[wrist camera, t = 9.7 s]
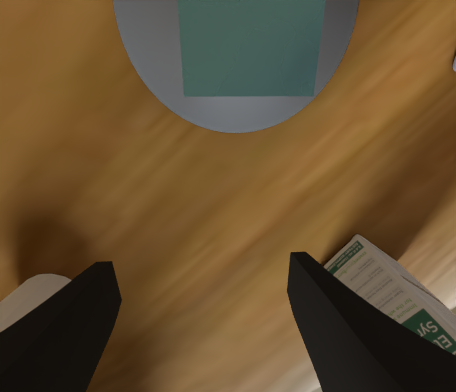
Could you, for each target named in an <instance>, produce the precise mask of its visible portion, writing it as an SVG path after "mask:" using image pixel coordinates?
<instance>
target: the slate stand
mask: <svg viewBox="0 0 456 392" xmlns="http://www.w3.org/2000/svg"><path fill="white" fill-rule="evenodd" d="M358 3H359V0H326V1H325V9H324V17H323V25H322V33H321V41H320V49H319V57H318V65H317V73H316V81H315V89H314V96H254V97H184V91H183V76H182V61H181V45H180V30H179V15H178V0H113V6H114V11H115V16H116V21H117V26H118V29H119V32H120V35H121V39H122V42H123V45H124V47H125V49H126V52H127V54H128V56H129V58H130V61H131V62H132V64H133V66H134V68H135V69H136V71H137V73H138V74H139V76H140V78H141V79H142V80H143V82H144V83H145V84H146V86H147V87H148V88H149V90H150V91H151V92H152V93H153V94H154V95H155V96H156V97H157V98H158V99H159V100H160V101H161V102H162V103H163V104H164V105H165V106H166V107H168V108H169V109H170V110H171V111H172V112H174V113H176V114H177V115H179V116H180V117H182V118H183V119H185V120H187V121H189V122H191V123H193V124H195V125H197V126H200V127H203V128H206V129H209V130H214V131H219V132H226V133H245V132H253V131H258V130H262V129H266V128H269V127H271V126H274V125H277V124H279V123H281V122H283V121H285V120H287V119H289V118H290V117H292V116H293V115H295V114H296V113H298V112H299V111H301V110H302V109H303V108H304V107H305V106H307V105H308V104H309V103H310V102H311V101H312V100H313V99H314V98H315V97H316V96H317V95H318V94H319V93H320V92H321V91H322V89H323V88H324V87H325V85H326V84H327V83H328V81H329V80H330V79H331V77H332V76H333V74H334V72H335V71H336V69H337V67H338V66H339V64H340V62H341V60H342V58H343V56H344V53H345V51H346V49H347V47H348V44H349V41H350V38H351V35H352V32H353V29H354V24H355V20H356V15H357V11H358Z"/></svg>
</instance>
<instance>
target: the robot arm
mask: <svg viewBox="0 0 456 392" xmlns="http://www.w3.org/2000/svg"><path fill="white" fill-rule="evenodd" d="M453 70H454V71H455V72H456V57H455V60H454V63H453ZM287 293H288V297H289V301H290V305H291V308H292V312H293V315H294V318H295V321H296V323H297V326H298V328H299V331H300V333H301V336H302V339H303V341H304V344H305V346H306V349H307V351H308V354H309V356H310V359H311V361H312V364H313V366H314V369H315V371H316V374H317V377H318V380H319V382H320V385H321V388H322V391H323V392H456V355H454V354H452V353H450V352H448V351H446V350H445V349H443V348H441V347H439V346H437V345H436V344H434V343H432V342H430V341H429V340H427V339H425V338H423V337H421V336H420V335H418V334H416V333H415V332H413V331H411V330H410V329H408V328H406V327H405V326H403V325H402V324H400V323H398V322H397V321H395V320H394V319H392V318H391V317H389V316H388V315H386V314H384V313H383V312H381V311H380V310H378V309H377V308H376V307H374V306H373V305H371V304H370V303H369V302H367V301H366V300H364V299H363V298H362V297H360V296H359V295H358V294H356V293H355V292H354V291H352V290H351V289H350V288H348V287H347V286H346V285H345V284H343V283H342V282H341V281H340V280H338V279H337V278H336V277H335V276H334V275H332V274H331V273H330V272H329V271H328V270H326V269H325V268H324V267H323V266H322V265H321V264H319V263H318V262H317V261H316V260H315V259H314V258H312V257H311V256H310V255H309V254H308V253H306V252H291V254H290V265H289V275H288V286H287ZM121 301H122V299H121V295H120V291H119V287H118V283H117V279H116V275H115V271H114V268H113V264H112V261H107V262H96V263H94V264H93V265H91V266H90V267H89V268H87V269H86V270H85V271H83V272H82V273H81V274H79V275H78V276H77V277H76V278H74V279H73V280H72V281H70V282H69V283H68V284H67V285H65V286H64V287H63V288H61V289H60V290H59V291H57V292H56V293H55V294H53V295H52V296H51V297H50V298H48V299H47V300H46V301H44V302H43V303H41V304H40V305H39V306H37V307H36V308H34V309H33V310H32V311H30V312H29V313H27V314H26V315H25V316H23V317H22V318H20V319H19V320H18V321H16V322H15V323H13V324H12V325H11V326H9V327H8V328H6V329H5V330H3V331H2V332H0V392H86V390H87V387H88V385H89V383H90V380H91V378H92V376H93V374H94V371H95V369H96V367H97V364H98V362H99V360H100V358H101V355H102V353H103V351H104V349H105V346H106V344H107V342H108V339H109V337H110V335H111V332H112V330H113V327H114V325H115V322H116V318H117V315H118V312H119V308H120V305H121Z"/></svg>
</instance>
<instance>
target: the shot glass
mask: <svg viewBox="0 0 456 392" xmlns="http://www.w3.org/2000/svg"><path fill="white" fill-rule="evenodd" d="M70 281H72V280H70V279H69V278H67V277H65V276H60V275H56V274H38V275H36V276H34V277H31V278H29V279H27V280H26V281H25V282H24V283H23V284H21V285H20V286H19V287H18V288H17V289H15V290H14V291H13V292H12V293H11V294H9V295H8V296H7V297H6V298H5V299H3V300H2V301H1V302H0V332H2V331H3V330H5V329H6V328H8V327H9V326H11V325H12V324H13V323H15V322H16V321H18V320H19V319H20V318H22V317H23V316H25V315H26V314H27V313H29V312H30V311H32V310H33V309H34V308H36V307H37V306H39V305H40V304H41V303H43V302H44V301H46V300H47V299H48V298H50V297H51V296H52V295H53V294H55V293H56V292H57V291H59V290H60V289H61V288H63V287H64V286H65V285H67V284H68V283H69V282H70Z"/></svg>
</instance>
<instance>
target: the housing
mask: <svg viewBox="0 0 456 392" xmlns="http://www.w3.org/2000/svg"><path fill="white" fill-rule="evenodd" d="M325 1H326V0H178V15H179V30H180V45H181V61H182V76H183V91H184V97H254V96H314V89H315V81H316V73H317V65H318V57H319V49H320V41H321V33H322V25H323V17H324V9H325Z"/></svg>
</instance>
